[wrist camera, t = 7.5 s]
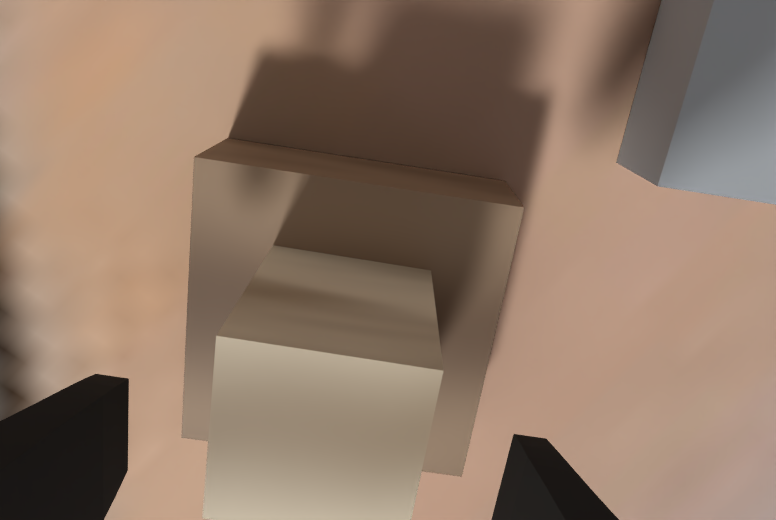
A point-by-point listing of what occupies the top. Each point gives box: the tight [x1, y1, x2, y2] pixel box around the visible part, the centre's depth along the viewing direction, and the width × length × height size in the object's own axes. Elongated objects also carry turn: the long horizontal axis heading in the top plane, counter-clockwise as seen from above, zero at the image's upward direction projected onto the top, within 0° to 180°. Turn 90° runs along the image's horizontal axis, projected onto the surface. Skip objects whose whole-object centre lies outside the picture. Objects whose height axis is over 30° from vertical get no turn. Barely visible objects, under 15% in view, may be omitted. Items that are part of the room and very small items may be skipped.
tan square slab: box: [181, 138, 524, 477], centre depth 18 cm, size 8×8×3 cm
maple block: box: [202, 245, 444, 520], centre depth 14 cm, size 4×4×5 cm
